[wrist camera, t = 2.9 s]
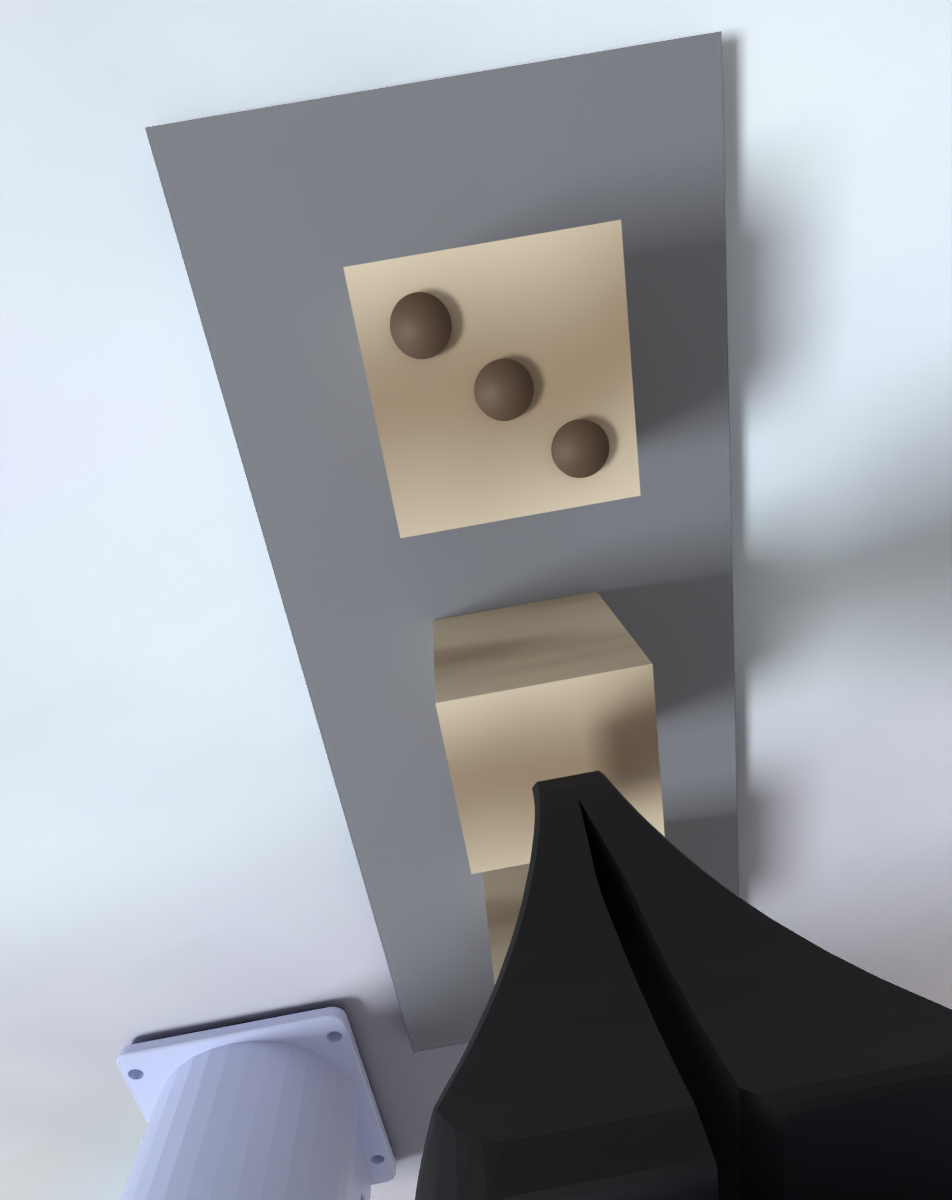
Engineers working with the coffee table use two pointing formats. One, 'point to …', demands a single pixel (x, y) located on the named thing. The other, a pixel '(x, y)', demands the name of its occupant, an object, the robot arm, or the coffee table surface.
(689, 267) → the slate mat
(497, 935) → the two pip block
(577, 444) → the three pip block
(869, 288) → the coffee table surface
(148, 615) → the coffee table surface
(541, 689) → the plain block
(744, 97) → the coffee table surface
